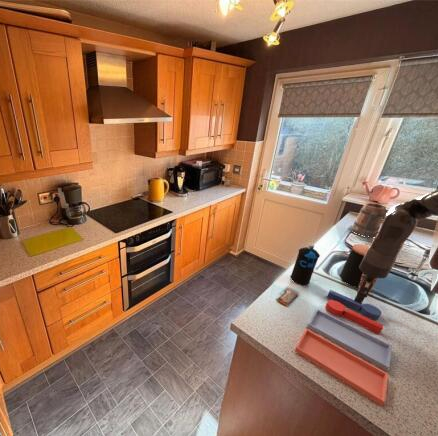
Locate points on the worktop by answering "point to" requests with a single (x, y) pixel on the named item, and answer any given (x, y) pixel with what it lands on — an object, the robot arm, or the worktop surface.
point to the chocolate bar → (287, 297)
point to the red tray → (344, 366)
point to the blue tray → (352, 339)
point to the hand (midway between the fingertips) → (359, 296)
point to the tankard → (369, 220)
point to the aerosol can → (304, 265)
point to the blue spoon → (356, 305)
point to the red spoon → (352, 316)
